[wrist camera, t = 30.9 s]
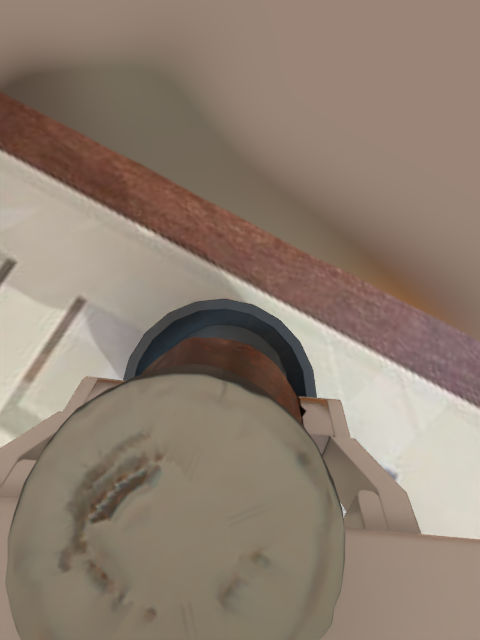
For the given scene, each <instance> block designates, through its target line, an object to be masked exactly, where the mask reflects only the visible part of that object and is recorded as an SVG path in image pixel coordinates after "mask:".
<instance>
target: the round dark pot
mask: <svg viewBox="0 0 480 640" xmlns="http://www.w3.org/2000/svg"><path fill="white" fill-rule="evenodd" d="M192 337H198V338H211V337H215V338H221V339H226V340H235V341H238V342H241V343H244V344H249V345H250V346H252V347H253V348H255V349H257V350H259V351H260V352H262V353H263V354H264V355H266V356H267V357H268V358H270V359H271V360H272V361H273V362H274V363H275V364H276V365H277V366H278V367H279V369H280V370H281V372H282V373H283V374H284V375H285V376H286V379H287V381H288V382H289V384H290V385H291V387H292V389H293V391H294V393H295V394H296V396H297V398H298V396H300V397H313V398H317V395H316V387H315V380H314V373H313V369H312V366H311V364H310V362H309V360H308V358H307V356H306V353H305V351H304V349H303V347H302V345H301V343H300V341H299V340H298V339H297V338H296V337H295V336H294V335H293V333H292V332H291V331H290V330H289V329H288V328H287V327H286V326H285V325H284V324H283V323H282V321H281V320H279V319H278V318H276V317H274V316H273V315H271V314H269V313H267V312H266V311H264V310H262V309H260V308H259V307H257V306H255V305H252V304H247V303H243V302H238V301H233V300H229V299H218V300H207V301H197V302H194V303H191V304H189V305H187V306H184V307H182V308H179V309H177V310H175V311H172V312H170V313H168V314H167V315H166V316H165V317H163V318H162V319H161V320H160V321H159V322H157V323H156V324H155V325H154V326H153V327H152V328H150V329H149V330H148V331H147V332H146V333H145V334H144V336H143V337H142V339H141V341H140V342H139V344H138V345H137V347H136V348H135V350H134V352H133V353H132V355H131V356H130V358H129V360H128V364H127V368H126V371H125V375H124V379H123V380H124V381H127V380H129V379H131V378H132V377H136V376H140V375H141V374H142V373H143V372H144V370H145V369H146V368H147V367H148V366H149V365H150V364H151V363H153V362H154V361H155V360H156V359H158V358H159V357H160V356H162V355H163V354H165V353H166V352H167V351H169V350H170V349H172V348H173V347H175V346H176V345H177V344H179V343H180V342H182V341H183V340H185V339H187V338H192Z"/></svg>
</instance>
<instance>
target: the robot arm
mask: <svg viewBox="0 0 480 640" xmlns="http://www.w3.org/2000/svg"><path fill="white" fill-rule="evenodd" d="M123 382H125V381H124V380H115V379H107V378H97V377H88V376H86V377H85V378H84V379H82V381H81V383H80V384H79V386H78V388H77V389H76V391H75V393H74V394H73V396H72V397H71V399H70V401H69V402H68V404H67V406H66V407H65V409H64V411H63V412H57V413H55V414H54V415H52V416H51V417H49V418H48V419H46V420H44V421H43V422H41V423H40V424H38V425H36V426H35V427H33V428H32V429H30V430H29V431H27V432H25V433H24V434H22V435H21V436H19V437H17V438H16V439H14V440H13V441H11V442H10V443H8V444H6V445H5V446H3V447H2V448H0V640H21V639H20V637H19V635H18V632H17V630H16V627H15V624H14V620H13V617H12V613H11V609H10V604H9V599H8V594H7V589H6V584H5V579H6V572H7V564H8V535H9V531H10V527H11V523H12V519H13V515H14V512H15V509H16V506H17V503H18V499H19V496H20V493H21V490H22V487H23V484H24V482H25V480H26V478H27V477H28V475H29V473H30V471H31V470H32V468H33V466H34V464H35V463H36V461H37V459H38V458H39V456H40V455H41V453H42V451H43V450H44V448H45V446H46V445H47V443H48V442H49V440H50V439H51V438H52V437H53V435H54V434H55V433H56V432H57V430H58V429H59V427H60V426H61V425H62V424H63V423H64V422H65V421H66V419H67V418H68V417H69V416H70V415H71V414H72V413H73V412H74V411H75V410H76V409H77V408H78V407H80V406H82V405H83V404H85V403H86V402H88V401H90V400H91V399H93V398H94V397H96V396H97V395H99V394H101V393H102V392H104V391H105V390H107V389H108V388H111V387H115V386H116V385H118V384H120V383H123ZM297 401H298V404H299V408H300V414H301V418H302V419H301V422H302V425H303V426H304V427H305V429H306V430H307V432H308V433H309V434H310V436H311V437H312V438H313V440H314V441H315V443H316V444H317V446H318V448H319V450H320V452H321V454H322V457H323V459H324V461H325V463H326V465H327V467H328V470H329V472H330V474H331V476H332V478H333V481H334V484H335V487H336V491H337V494H338V497H339V501H340V502H341V504H342V505H343V507H344V508H345V510H346V511H347V513H346V514H345V516H344V518H343V520H344V528H345V563H344V571H343V579H342V588H341V592H340V595H339V597H338V600H337V602H336V605H335V607H334V614H333V621H332V624H331V626H330V628H329V629H328V630H327V632H326V633H325V634H324V636H323V637H322V638H321V639H320V640H480V539H469V538H458V537H447V536H436V535H425V534H421V531H420V529H419V526H418V523H417V520H416V517H415V515H414V512H413V509H412V506H411V503H410V501H409V498H408V495H407V493H406V492H405V491H404V490H403V489H402V488H401V487H400V486H399V485H398V483H397V482H396V481H395V480H394V479H393V478H392V477H391V476H390V475H389V474H388V473H387V472H386V471H385V470H384V469H383V468H382V467H381V466H380V465H379V464H378V463H377V461H376V460H375V459H374V458H373V457H372V456H371V455H370V454H369V453H368V452H367V451H366V450H365V449H364V448H363V447H362V446H361V445H360V444H359V443H358V442H357V441H356V439H353V438H350V434H349V430H348V426H347V422H346V419H345V415H344V411H343V407H342V403H341V401H340V400H335V399H325V398H313V397H300V396H298V398H297Z"/></svg>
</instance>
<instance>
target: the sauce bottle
mask: <svg viewBox="0 0 480 640" xmlns="http://www.w3.org/2000/svg"><path fill="white" fill-rule="evenodd" d="M301 419H302V418H301V414H300V408H299V404H298V401H297V396H296V394H295V393H294V391H293V389H292V387H291V385H290V384H289V382H288V381H287V379H286V376H285V375H284V374H283V373H282V372H281V370H280V369H279V367H278V366H277V365H276V364H275V363H274V362H273V361H272V360H271V359H270V358H268V357H267V356H266V355H264V354H263V353H262V352H260V351H259V350H257V349H255V348H253V347H252V346H250V345H249V344H244V343H241V342H238V341H235V340H226V339H221V338H215V337H211V338H198V337H192V338H187V339H185V340H183V341H182V342H180V343H179V344H177V345H176V346H175V347H173V348H172V349H170V350H169V351H167V352H166V353H165V354H163V355H162V356H160V357H159V358H158V359H156V360H155V361H154V362H153V363H151V364H150V365H149V366H148V367H147V368H146V369H145V370H144V372H143V373H142V374H141V375H140V376H136V377H132V378H131V379H129V380H127V381H125V382H123V383H120V384H118V385H116V386H115V387H111V388H108V389H107V390H105V391H104V392H102V393H101V394H99V395H97V396H96V397H94V398H93V399H91V400H90V401H88V402H86V403H85V404H83V405H82V406H80V407H78V408H77V409H76V410H75V411H74V412H73V413H72V414H71V415H70V416H69V417H68V418H67V419H66V421H65V422H64V423H63V424H62V425H61V426H60V427H59V429H58V430H57V432H56V433H55V434H54V435H53V437H52V438H51V439H50V440H49V442H48V443H47V445H46V446H45V448H44V450H43V451H42V453H41V455H40V456H39V458H38V459H37V461H36V463H35V464H34V466H33V468H32V470H31V471H30V473H29V475H28V477H27V478H26V480H25V482H24V484H23V487H22V490H21V493H20V496H19V499H18V503H17V506H16V509H15V512H14V515H13V519H12V523H11V527H10V531H9V535H8V564H7V572H6V579H5V584H6V589H7V594H8V599H9V604H10V609H11V613H12V617H13V620H14V624H15V627H16V630H17V632H18V635H19V637H20V639H21V640H320V639H321V638H322V637H323V636H324V634H325V633H326V632H327V630H328V629H329V628H330V626H331V624H332V621H333V614H334V607H335V605H336V602H337V600H338V597H339V595H340V592H341V588H342V579H343V571H344V563H345V528H344V520H343V513H342V507H341V504H340V501H339V497H338V494H337V491H336V487H335V484H334V481H333V478H332V476H331V474H330V472H329V470H328V467H327V465H326V463H325V461H324V459H323V457H322V454H321V452H320V450H319V448H318V446H317V444H316V443H315V441H314V440H313V438H312V437H311V436H310V434H309V433H308V432H307V430H306V429H305V427H304V426H303V425H302V422H301Z"/></svg>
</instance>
